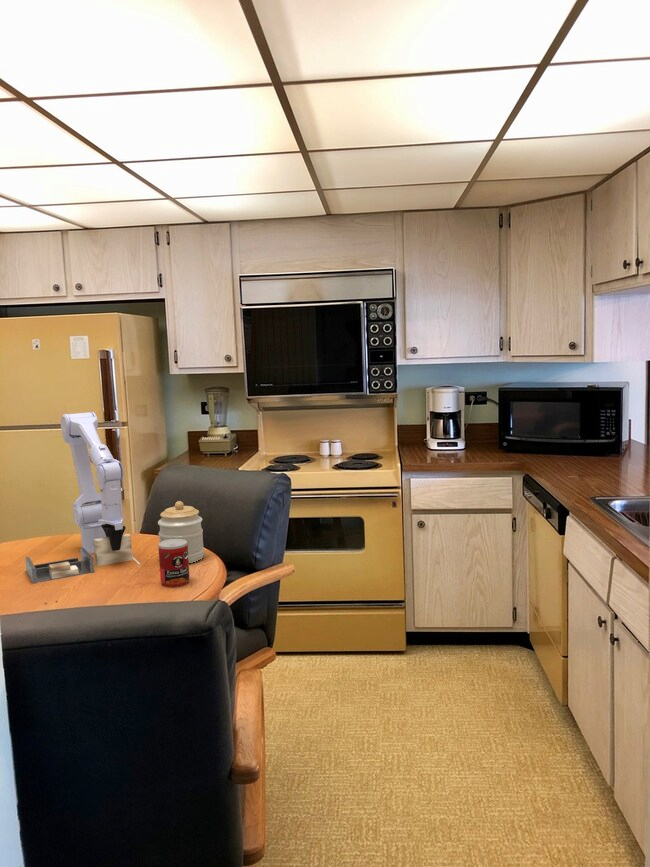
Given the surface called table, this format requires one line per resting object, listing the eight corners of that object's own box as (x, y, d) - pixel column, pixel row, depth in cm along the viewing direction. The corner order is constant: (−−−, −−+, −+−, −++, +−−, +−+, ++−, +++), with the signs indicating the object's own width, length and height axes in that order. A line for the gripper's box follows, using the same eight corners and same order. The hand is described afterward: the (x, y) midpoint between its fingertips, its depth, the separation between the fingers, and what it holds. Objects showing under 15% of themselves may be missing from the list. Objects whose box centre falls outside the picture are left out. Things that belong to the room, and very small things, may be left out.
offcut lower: (75, 570, 195) (75, 565, 195) (78, 574, 192) (78, 568, 191) (49, 575, 191) (49, 569, 191) (52, 578, 188) (51, 573, 188)
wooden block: (130, 559, 205) (128, 533, 205) (132, 561, 203) (130, 535, 202) (95, 565, 200) (93, 539, 200) (97, 568, 198) (95, 541, 197)
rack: (84, 564, 204) (83, 547, 203) (94, 575, 193) (93, 558, 192) (26, 574, 196) (25, 557, 195) (33, 587, 185) (31, 569, 184)
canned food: (164, 589, 180) (162, 548, 178) (157, 580, 187) (154, 541, 186) (193, 584, 183) (191, 543, 182) (185, 575, 190) (182, 537, 189)
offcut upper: (68, 566, 194) (67, 561, 193) (70, 569, 191) (70, 564, 190) (49, 570, 191) (48, 564, 191) (51, 573, 188) (51, 567, 188)
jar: (151, 563, 202) (147, 504, 200) (176, 551, 214) (173, 495, 212) (188, 567, 197) (185, 507, 195) (212, 554, 209) (209, 497, 207)
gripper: (91, 500, 204) (95, 545, 206) (103, 509, 192) (106, 557, 193) (116, 497, 208) (119, 541, 209) (128, 506, 195) (131, 552, 197)
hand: (114, 548), depth 202 cm, fingers closed on wooden block, 3 cm apart
